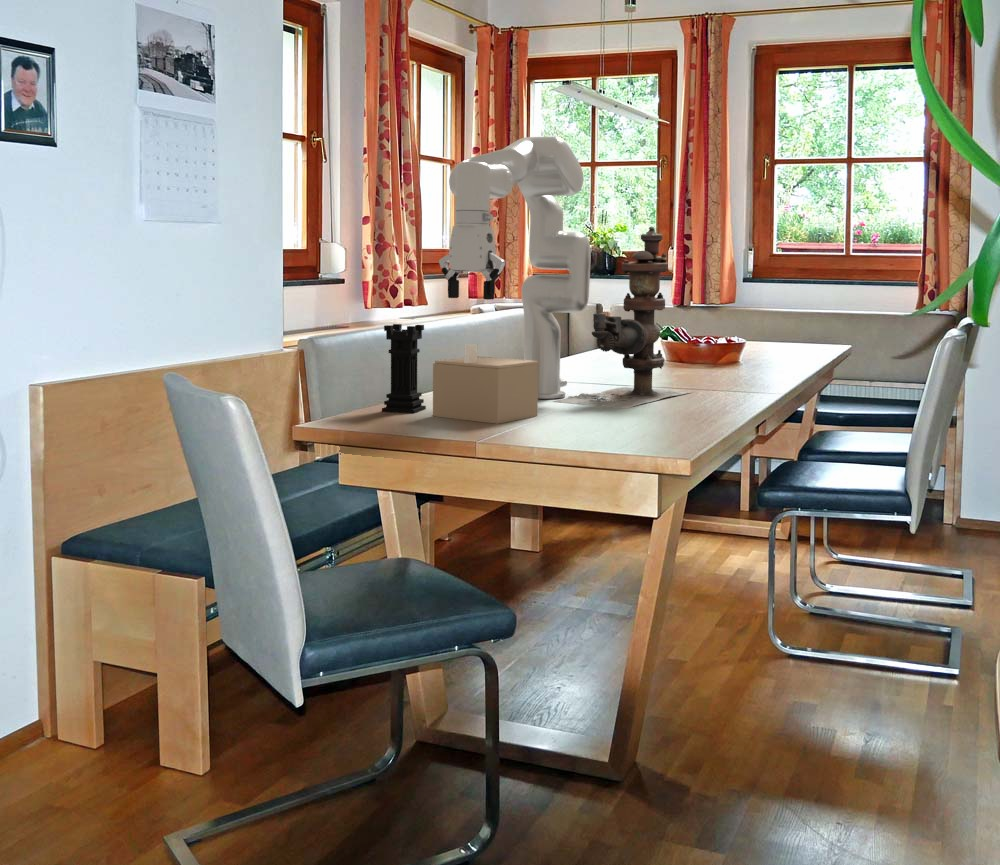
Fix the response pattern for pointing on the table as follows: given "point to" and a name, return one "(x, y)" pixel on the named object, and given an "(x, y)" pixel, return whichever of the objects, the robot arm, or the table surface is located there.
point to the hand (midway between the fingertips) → (470, 298)
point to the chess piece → (403, 369)
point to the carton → (485, 392)
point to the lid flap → (483, 360)
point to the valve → (634, 331)
